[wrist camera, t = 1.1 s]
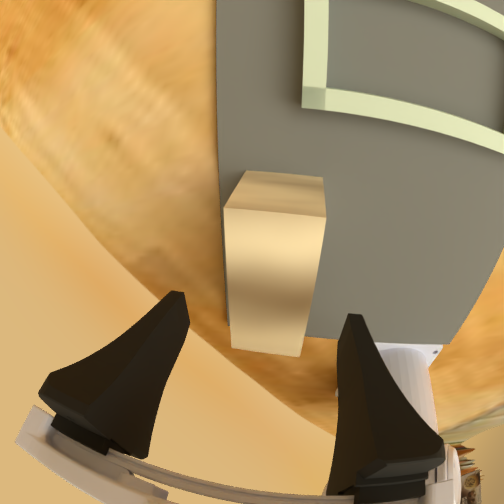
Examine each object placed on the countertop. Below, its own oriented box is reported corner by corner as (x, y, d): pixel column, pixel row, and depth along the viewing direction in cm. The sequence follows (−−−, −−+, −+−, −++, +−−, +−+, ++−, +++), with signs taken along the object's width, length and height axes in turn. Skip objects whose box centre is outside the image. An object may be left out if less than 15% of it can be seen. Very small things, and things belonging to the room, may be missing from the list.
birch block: (304, 303, 20) (299, 357, 16) (246, 296, 20) (231, 347, 17) (322, 177, 14) (326, 217, 11) (246, 170, 15) (223, 207, 11)
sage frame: (510, 153, 11) (524, 162, 10) (302, 104, 13) (301, 108, 11) (522, 37, 6) (536, 37, 5) (304, -34, 8) (304, -44, 7)
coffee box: (458, 478, 63) (458, 511, 50) (458, 476, 61) (459, 511, 48) (478, 471, 59) (479, 504, 46) (479, 468, 57) (481, 503, 44)
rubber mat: (447, 339, 20) (449, 344, 20) (229, 321, 23) (227, 325, 22) (538, 23, 5) (543, 23, 5) (221, -58, 8) (218, -61, 7)
